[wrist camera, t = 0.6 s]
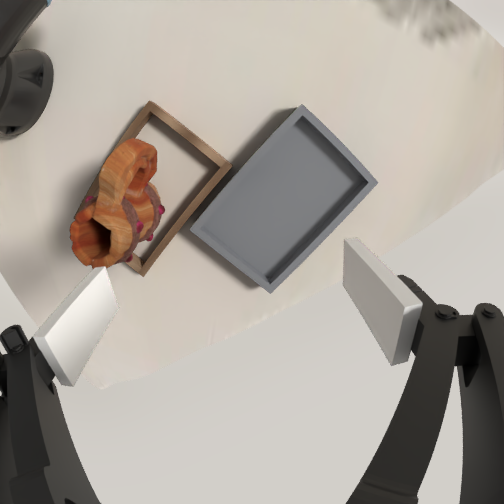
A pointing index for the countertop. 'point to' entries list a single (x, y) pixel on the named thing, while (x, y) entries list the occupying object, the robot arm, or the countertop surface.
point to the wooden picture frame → (225, 166)
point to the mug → (119, 207)
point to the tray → (284, 200)
